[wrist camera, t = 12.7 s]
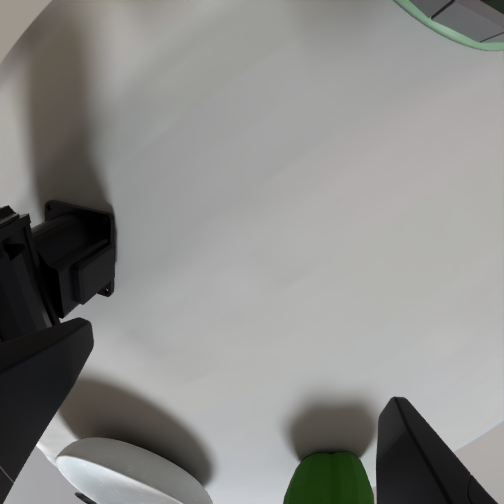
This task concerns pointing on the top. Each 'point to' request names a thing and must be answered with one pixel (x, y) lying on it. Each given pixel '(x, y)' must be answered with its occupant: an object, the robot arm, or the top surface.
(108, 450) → the serving bowl
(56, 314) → the robot arm
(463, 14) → the cup
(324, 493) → the bell pepper
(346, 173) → the top surface
